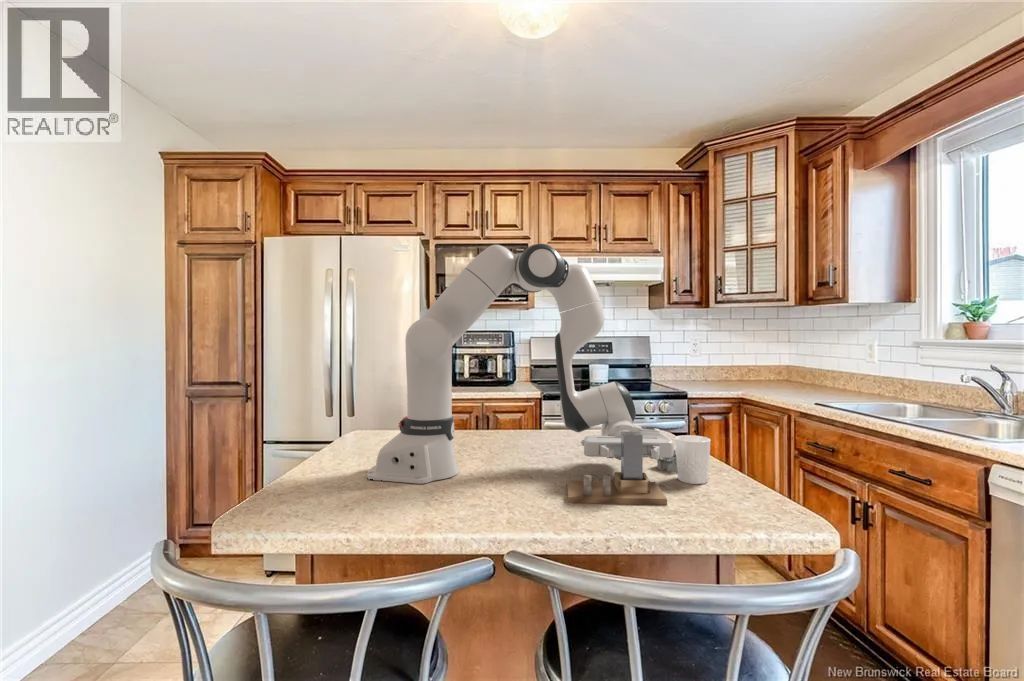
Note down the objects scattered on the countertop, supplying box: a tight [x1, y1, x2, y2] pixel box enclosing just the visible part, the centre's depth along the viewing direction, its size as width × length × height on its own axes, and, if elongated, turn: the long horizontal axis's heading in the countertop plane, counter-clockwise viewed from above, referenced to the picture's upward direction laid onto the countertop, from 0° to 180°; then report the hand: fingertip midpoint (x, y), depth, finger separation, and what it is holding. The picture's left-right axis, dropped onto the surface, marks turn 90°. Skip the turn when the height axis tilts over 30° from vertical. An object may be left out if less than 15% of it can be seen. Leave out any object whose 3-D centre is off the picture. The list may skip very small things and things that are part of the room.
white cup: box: [674, 434, 711, 485], centre depth 121 cm, size 8×8×10 cm
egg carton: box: [654, 449, 678, 473], centre depth 132 cm, size 11×8×4 cm
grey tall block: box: [620, 431, 644, 480], centre depth 111 cm, size 4×4×12 cm
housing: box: [566, 471, 668, 506], centre depth 110 cm, size 20×12×5 cm, turn 86°
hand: (632, 454), depth 110 cm, fingers open, 8 cm apart
